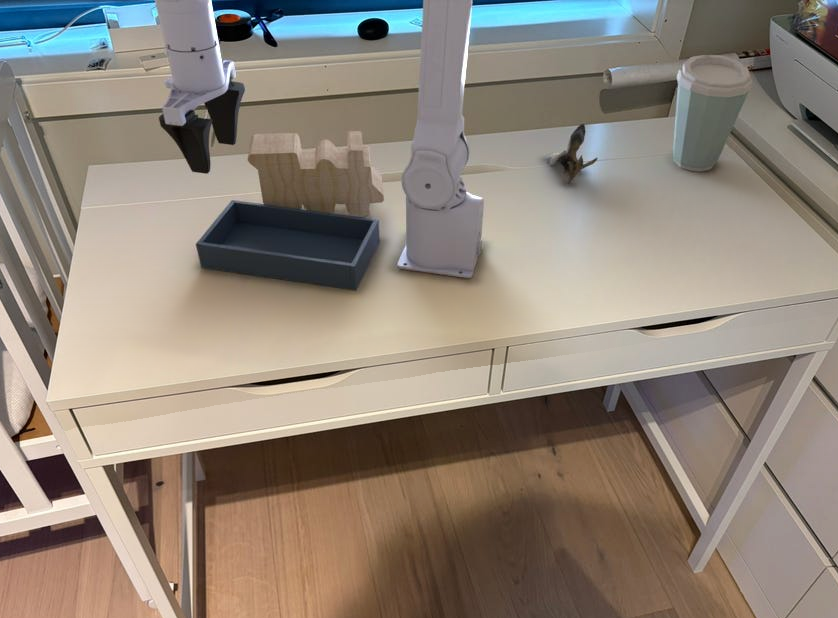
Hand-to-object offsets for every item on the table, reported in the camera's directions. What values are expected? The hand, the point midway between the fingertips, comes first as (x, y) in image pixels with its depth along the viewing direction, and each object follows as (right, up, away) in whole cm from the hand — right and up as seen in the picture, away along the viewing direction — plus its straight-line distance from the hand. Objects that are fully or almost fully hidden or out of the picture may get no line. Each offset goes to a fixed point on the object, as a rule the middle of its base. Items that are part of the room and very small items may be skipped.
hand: (214, 156), depth 89 cm
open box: (+9, -12, +3) cm, 15 cm away
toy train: (+11, -4, +11) cm, 16 cm away
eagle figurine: (+47, +4, +21) cm, 52 cm away
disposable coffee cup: (+67, +6, +25) cm, 72 cm away
